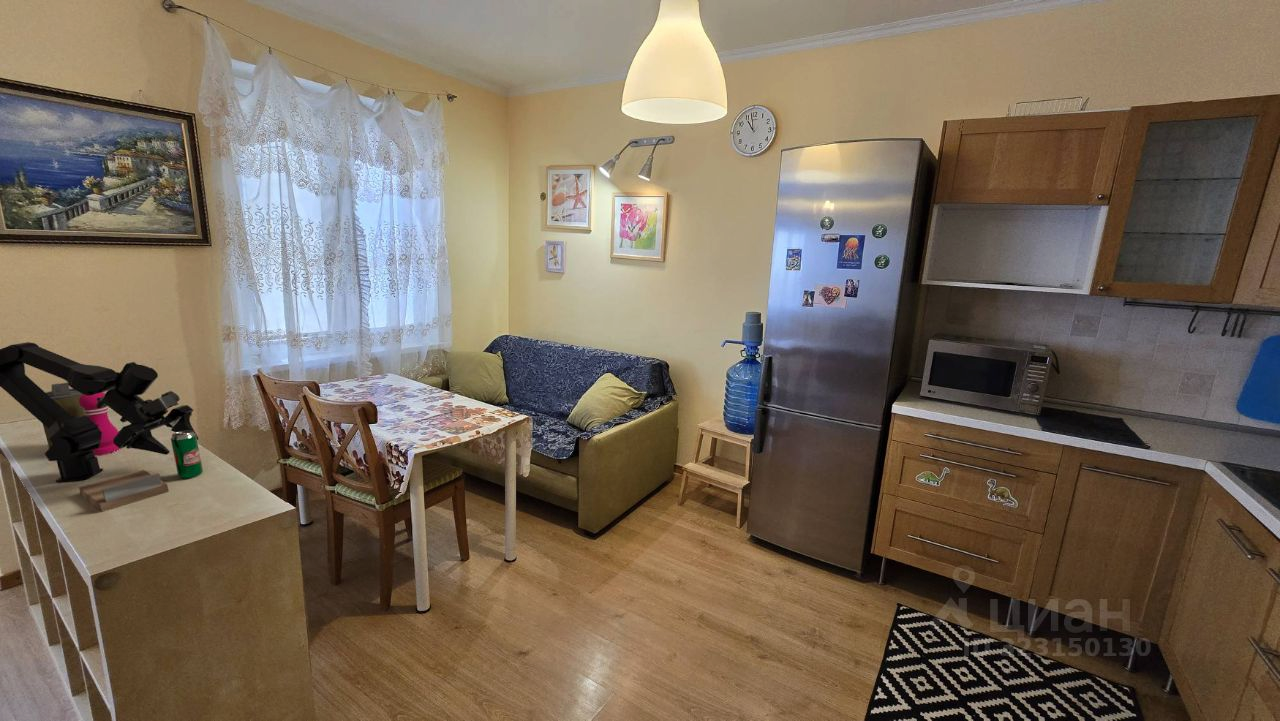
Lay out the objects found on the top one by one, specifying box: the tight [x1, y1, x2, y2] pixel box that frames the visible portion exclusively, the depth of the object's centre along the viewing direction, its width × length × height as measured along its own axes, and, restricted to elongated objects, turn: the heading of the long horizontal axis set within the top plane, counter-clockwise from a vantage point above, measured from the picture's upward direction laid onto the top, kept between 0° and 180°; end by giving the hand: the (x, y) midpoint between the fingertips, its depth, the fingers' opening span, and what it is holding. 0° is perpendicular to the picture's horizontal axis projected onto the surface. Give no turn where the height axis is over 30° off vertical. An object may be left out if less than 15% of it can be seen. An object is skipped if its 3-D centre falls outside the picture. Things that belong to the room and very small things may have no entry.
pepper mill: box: [79, 392, 121, 456], centre depth 152 cm, size 7×7×20 cm
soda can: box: [170, 430, 204, 480], centre depth 137 cm, size 5×5×12 cm
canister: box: [38, 382, 87, 449], centre depth 155 cm, size 11×10×20 cm
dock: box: [78, 469, 170, 512], centre depth 128 cm, size 16×12×5 cm
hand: (183, 446), depth 137 cm, fingers open, 9 cm apart
